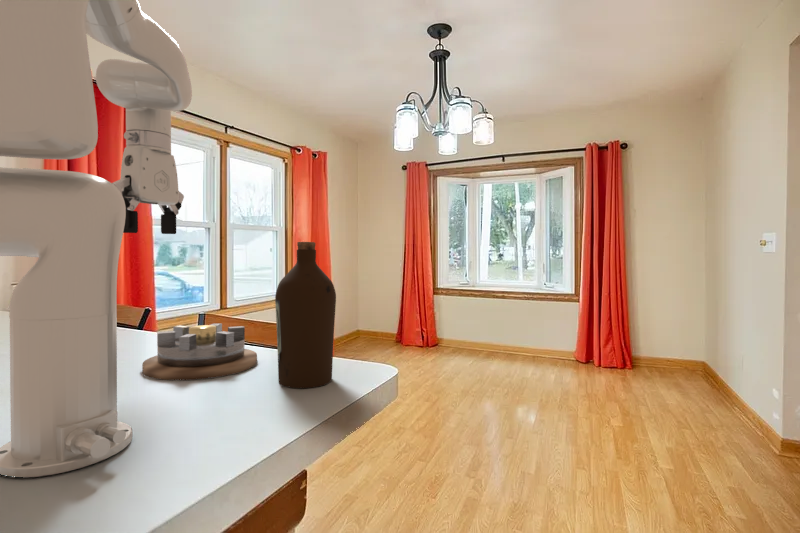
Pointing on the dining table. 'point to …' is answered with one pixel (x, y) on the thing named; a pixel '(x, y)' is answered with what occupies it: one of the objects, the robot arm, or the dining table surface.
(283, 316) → the olive oil
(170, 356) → the crenellated turret ring
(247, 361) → the board
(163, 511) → the dining table surface
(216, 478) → the dining table surface
